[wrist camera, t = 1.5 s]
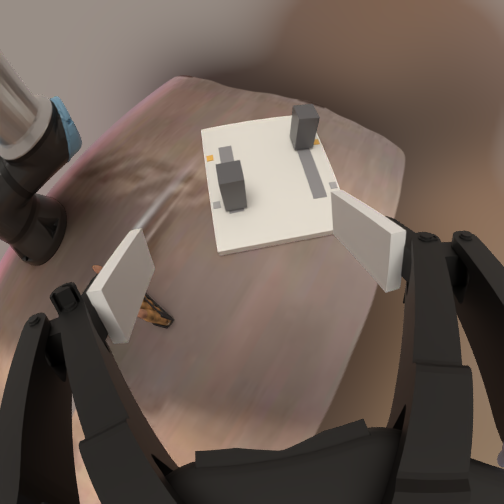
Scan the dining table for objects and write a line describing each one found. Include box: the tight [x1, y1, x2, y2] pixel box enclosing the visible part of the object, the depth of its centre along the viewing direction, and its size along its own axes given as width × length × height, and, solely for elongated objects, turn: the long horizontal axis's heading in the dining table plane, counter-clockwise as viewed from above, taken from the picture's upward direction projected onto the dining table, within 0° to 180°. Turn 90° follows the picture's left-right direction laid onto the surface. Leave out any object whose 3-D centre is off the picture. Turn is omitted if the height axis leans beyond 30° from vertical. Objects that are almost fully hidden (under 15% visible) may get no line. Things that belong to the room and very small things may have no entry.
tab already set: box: [290, 104, 320, 150], centre depth 44 cm, size 4×4×8 cm
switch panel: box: [201, 116, 340, 256], centre depth 48 cm, size 26×22×2 cm
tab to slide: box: [215, 160, 247, 211], centre depth 41 cm, size 4×4×8 cm
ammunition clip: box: [92, 265, 174, 328], centre depth 37 cm, size 11×2×12 cm, turn 52°
